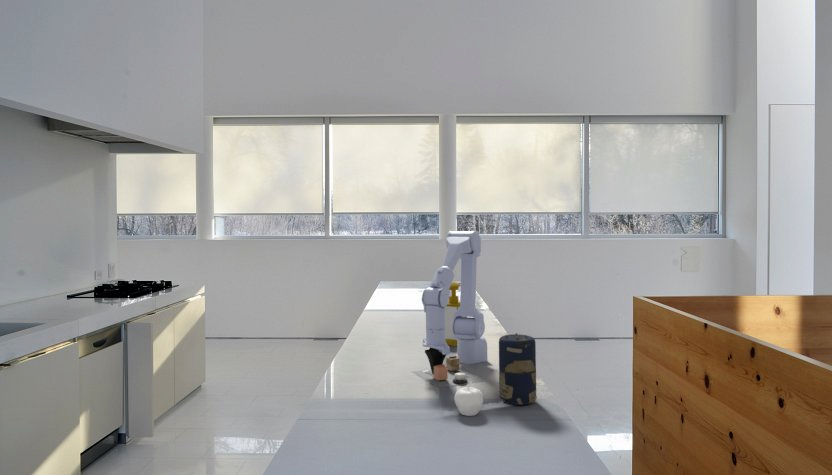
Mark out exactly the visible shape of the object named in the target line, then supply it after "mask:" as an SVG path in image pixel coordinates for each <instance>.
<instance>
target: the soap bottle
mask: <svg viewBox="0 0 832 475" xmlns="http://www.w3.org/2000/svg"><path fill="white" fill-rule="evenodd" d="M459 287H461V282H453V281H452V283H451V286H450V288H449V291H451V295H449V301H448V304H447V306H446V307H445V337H446V344H447V345H448V346H453V347H457V338H455V335H454V334H453V332H452V329H451V324H452V321H453V314H454V312H456V311H457V310H458V309H459V308H460V301H459V295H456V294H457V291H458V290H459ZM459 291H460V290H459ZM462 317H467V316H462Z"/></svg>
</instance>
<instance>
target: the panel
mask: <svg viewBox="0 0 832 475" xmlns="http://www.w3.org/2000/svg"><path fill="white" fill-rule="evenodd" d="M447 371H448V379H446V380H436V379H435V378H434V374H432V371H431V369H424V370H417V371H416V370H415V371H412V373H413V374H415V375H417V376H418V377H419V378H421V379H423V380H425V381H426V382H428V383H430V384H432V385H433V386H435V387H436V388H438V389H440V388H449V387H454V386H456V387H457V386H461V385H469V384H470V382H472V383H471V384H478V383H483V382H486V380H484V379H483V378H481V377H478V376H476V375H474V374H473V373H470V372H468V371H466V370H464V369H462V368H460V367H459V370H454V371H450V370H448V369H447ZM455 373H465V380H455Z"/></svg>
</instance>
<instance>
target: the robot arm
mask: <svg viewBox="0 0 832 475" xmlns="http://www.w3.org/2000/svg"><path fill="white" fill-rule="evenodd" d="M478 232H479V231H477V230H473V231H471V230H470V231H469V230H468V231H466V230H465V231H462V230H461V231H459V230H458V231H456V230H455V231H453V230H449V232H448V233H447V235H446V239H445V245H446V253H445V255H444V258H443V262H442V266H441V267H437V269H436V271H435V273H434V275H433V277H432V280H431V282H430V284H429V286H428V287H426V289H423V291H422V295H421V303H422V305H423V311H424V313H425V338H423V339H422V347H423V348H428V349H425V350H424V353H425V355H426V358H427V359H428V362H429V366H430V370H431V371H432V374H434V366H436V365H442V364H444V361H445V360H446V357H447V355H450V353H451V348H450V346H449V345H447V344H446V337H445V307H446V306H447V304H448V302H449V296H450V293H451V290H449V288H450V286H451V283H452V282H453V281H454V278H455V273H454V270H455V268H456V266H457V264H458V262H459V260H460V261H461V262H460V263H461V264H460V283H461V284H460V285H461V286H460V296H459V297H460V300H459V302H460V308H459V309H458V310H457V311H456V312H454V314H453V321H452V324H451V329H452V332H453V334H454V335H455V338H457V346H456V347H457V348H456V350H457V352H456V353H457V354H456V356H457V358H459V364H463V365H464V364H466V365H468V364H469V365H473V364H478V363H479V364H480V363H484V362H488V343H487V339H486V338H485V337H484V336H483V335H484V334H485V330H486V325H485V321H484V319H485V318H484V317H485V316H484V314H483V312H481V310H479V309H478V308H477V307H476V301H477V300H476V297H477V296H476V294H477V258H478V257H480V256H481V251H482V250H481V247H482V246H481V245H482V239H481V236H480V234H479V233H478ZM462 316H467V317H462Z"/></svg>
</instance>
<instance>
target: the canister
mask: <svg viewBox="0 0 832 475" xmlns="http://www.w3.org/2000/svg"><path fill="white" fill-rule="evenodd" d="M536 350H537V349H536V339H535V338H534V337H533V336H530V335H527V334H518V333H517V332H516V333H515V334H514V333H513V334H505V335H502V336H500V337H499V339H498V377H499V378H498V384H499V385H498V388H499V391H498V392H499V398H500V399H501V400H502V401H503V403H505V404H509V405H528V404H532V403H533V402H534V401H536V398H537V359H536V358H537V352H536Z"/></svg>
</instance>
